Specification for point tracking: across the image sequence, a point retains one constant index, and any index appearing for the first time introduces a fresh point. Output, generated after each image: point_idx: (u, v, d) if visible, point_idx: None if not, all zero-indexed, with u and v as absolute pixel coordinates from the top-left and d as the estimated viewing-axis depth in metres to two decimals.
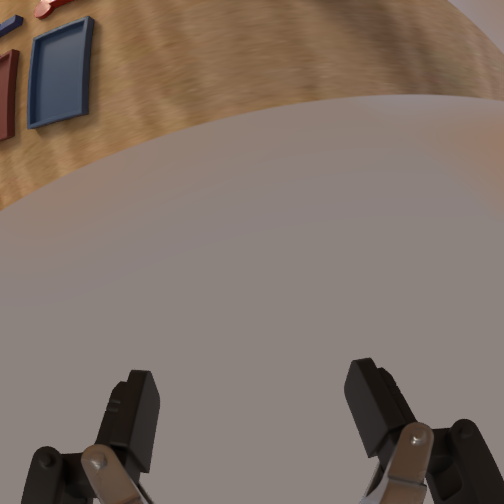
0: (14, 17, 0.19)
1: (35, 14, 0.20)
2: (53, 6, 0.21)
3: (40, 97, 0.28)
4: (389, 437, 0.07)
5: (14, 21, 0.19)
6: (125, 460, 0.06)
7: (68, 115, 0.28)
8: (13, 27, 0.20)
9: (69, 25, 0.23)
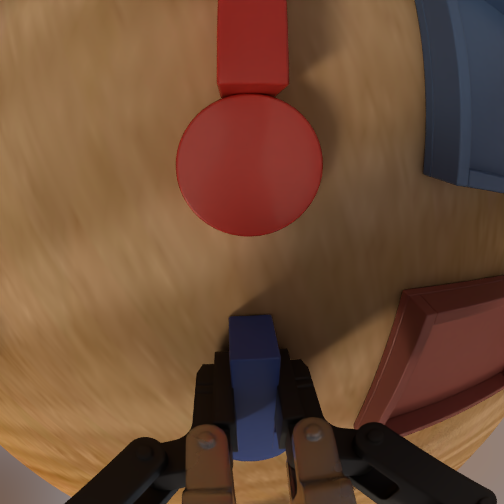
0: (245, 363, 0.09)
1: (283, 216, 0.08)
2: None
3: None
4: (288, 429, 0.08)
5: (278, 355, 0.08)
6: (229, 438, 0.07)
7: None
8: None
9: (453, 0, 0.04)
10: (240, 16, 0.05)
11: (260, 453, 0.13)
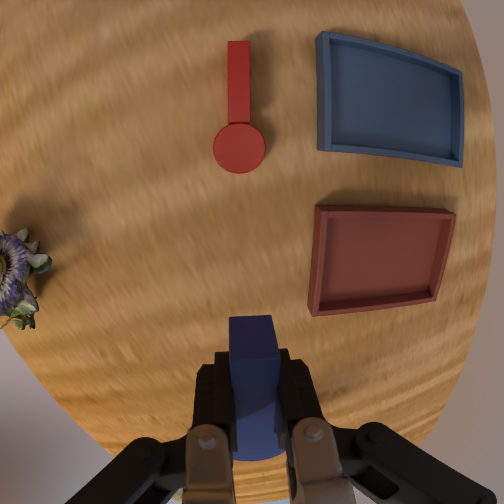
0: (244, 364, 0.09)
1: (251, 165, 0.21)
2: None
3: (422, 143, 0.22)
4: (288, 429, 0.08)
5: (278, 355, 0.09)
6: (229, 438, 0.07)
7: (462, 91, 0.18)
8: None
9: (329, 66, 0.18)
10: (235, 98, 0.18)
11: (260, 453, 0.13)
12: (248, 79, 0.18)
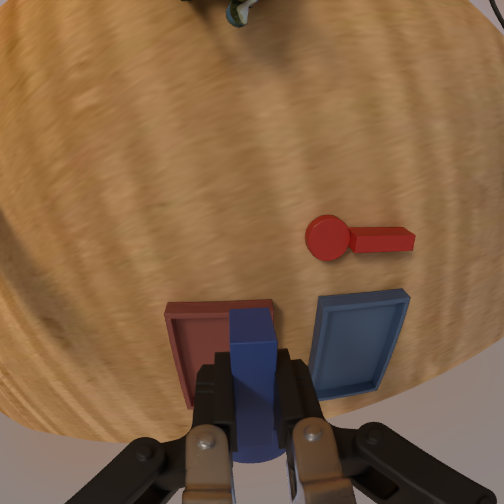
0: (244, 347, 0.09)
1: (314, 250, 0.25)
2: (349, 246, 0.25)
3: (321, 370, 0.32)
4: (288, 429, 0.08)
5: (275, 339, 0.09)
6: (229, 438, 0.07)
7: (363, 392, 0.33)
8: None
9: None
10: (374, 241, 0.23)
11: (260, 454, 0.13)
12: (385, 250, 0.24)
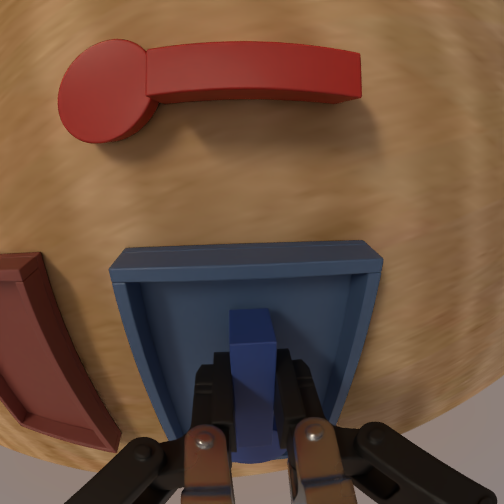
0: (243, 348, 0.09)
1: (69, 120, 0.08)
2: (161, 101, 0.08)
3: None
4: (289, 429, 0.08)
5: (274, 340, 0.09)
6: (228, 438, 0.07)
7: None
8: None
9: (302, 274, 0.10)
10: (205, 56, 0.07)
11: (260, 454, 0.13)
12: (256, 85, 0.07)
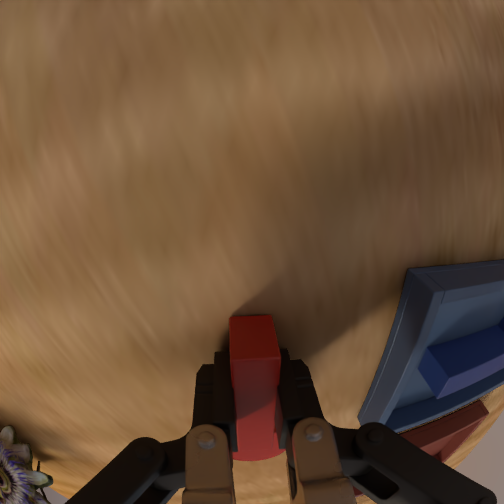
0: (443, 391, 0.10)
1: (269, 456, 0.13)
2: None
3: None
4: (288, 429, 0.08)
5: (448, 377, 0.10)
6: (229, 438, 0.07)
7: None
8: (453, 349, 0.11)
9: None
10: (248, 434, 0.10)
11: None
12: (273, 415, 0.10)
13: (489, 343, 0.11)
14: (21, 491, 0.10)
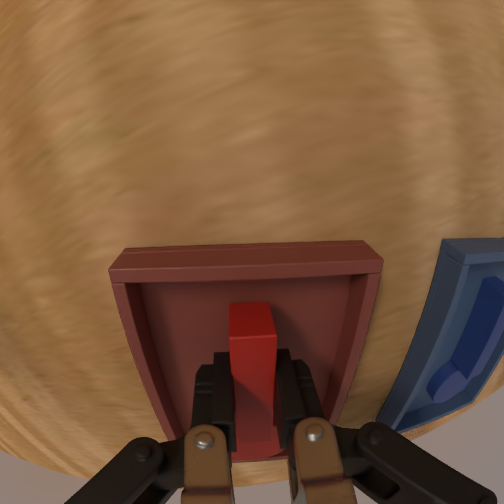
0: None
1: (269, 454, 0.13)
2: None
3: None
4: (289, 429, 0.08)
5: None
6: (228, 438, 0.07)
7: (458, 409, 0.17)
8: None
9: None
10: (247, 423, 0.10)
11: (453, 391, 0.15)
12: (271, 400, 0.10)
13: None
14: None
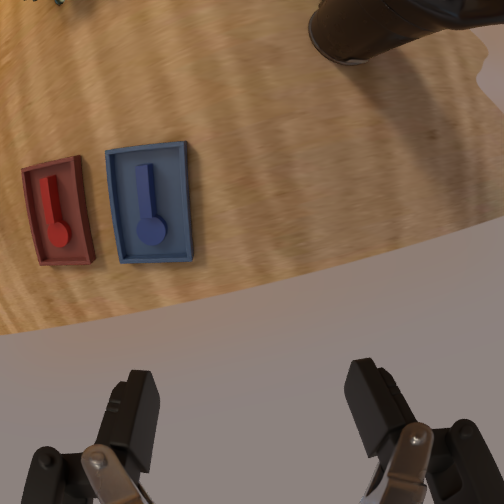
0: (138, 168, 0.30)
1: (63, 243, 0.34)
2: (59, 219, 0.33)
3: (128, 227, 0.36)
4: (389, 437, 0.07)
5: (147, 164, 0.30)
6: (125, 460, 0.06)
7: (175, 260, 0.36)
8: (152, 175, 0.33)
9: (157, 147, 0.31)
10: (46, 211, 0.31)
11: (154, 237, 0.35)
12: (49, 200, 0.31)
13: (153, 198, 0.33)
14: None
